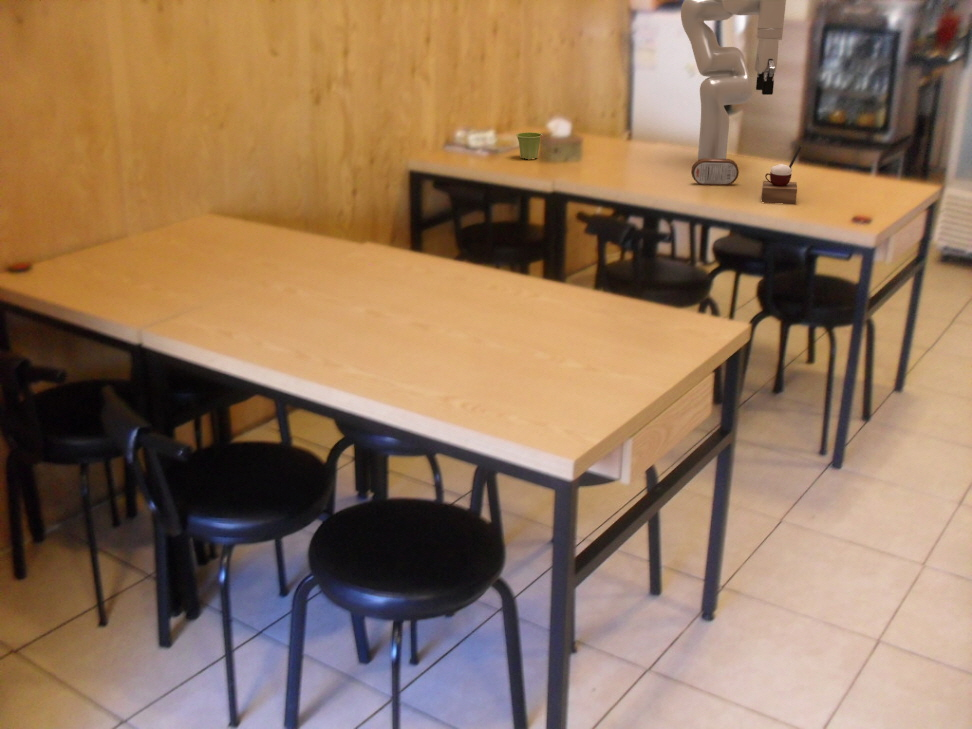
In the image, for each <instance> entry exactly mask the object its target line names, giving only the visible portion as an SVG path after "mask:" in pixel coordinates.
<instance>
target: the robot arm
mask: <svg viewBox="0 0 972 729" xmlns="http://www.w3.org/2000/svg"><path fill="white" fill-rule="evenodd" d="M786 2H787V0H683V2H682V4H681V8H680V20H681V24H682V27H683V30H684V32H685V34H686V36H687V38H688V41H689V43H690V45H691V49H692V52H693V56H694V60H695V63H696V64H695V65H696V67H697V70H698V73H699V74H700V75H701V76H703V77H707V78H705V79H703V81H702V82H701V83H700V86H699V98H700V123H699V124H700V126H699V139H698V140H699V141H698V155H697V161H698V160H700V159H703V158H712V159H727V153H728V152H727V151H728V141H729V129H730V117H729V114H728V112H727V110H726V108H725V106H728V105H729V106H730V105H731V106H733V105H742V104H746V103H749V101H750V100H751V98H752V96H753V84H752V80H751V77H750V76H751V75H750V72H749V69H748V65H747V61H746V59H745V55H744V53H743V52H742V50H740V49H739V48H738V47H737V46H736V47H735V46H721V45H719V42H718V39H717V35H716V34H715V32H714V31H713V30H712V28H711V27H710V26H708V24H707V23H705V22H707V21H708V22H709V21H710V22H711V21H712V22H713V21H726V20H728V19H731V18H732V17H733V16H734V15H736V16H758V17H757V18H758V21H757V30H756V40H758V42H757V46H756V47H757V49H756V56H755V62H754V71H755V72H756V73H757V76H756V84H755V90H756V91H761V94H762V95H763V96H765V95H769V96H772V95H773V94H774V87H775V86H774V85H775V73H776V72H777V67H778V66H777V65H778V54H779V41H780V40H781V41H782V40H783V34H784V23H785V14H786V13H785V12H786V4H787V3H786Z"/></svg>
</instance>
